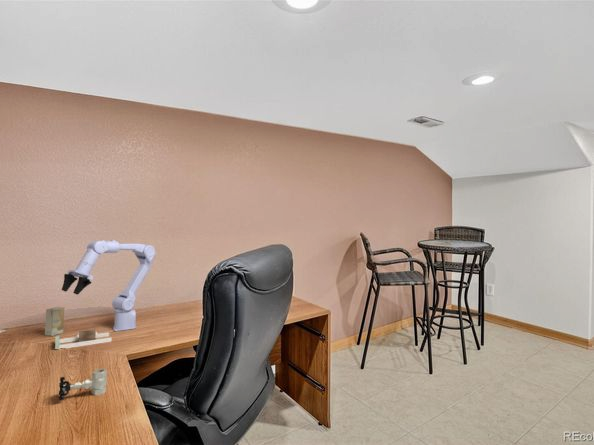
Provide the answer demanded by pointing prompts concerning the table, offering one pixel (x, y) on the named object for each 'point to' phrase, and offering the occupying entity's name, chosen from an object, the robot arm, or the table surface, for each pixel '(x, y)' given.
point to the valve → (86, 384)
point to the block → (87, 335)
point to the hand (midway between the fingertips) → (69, 292)
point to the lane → (58, 341)
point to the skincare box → (54, 321)
